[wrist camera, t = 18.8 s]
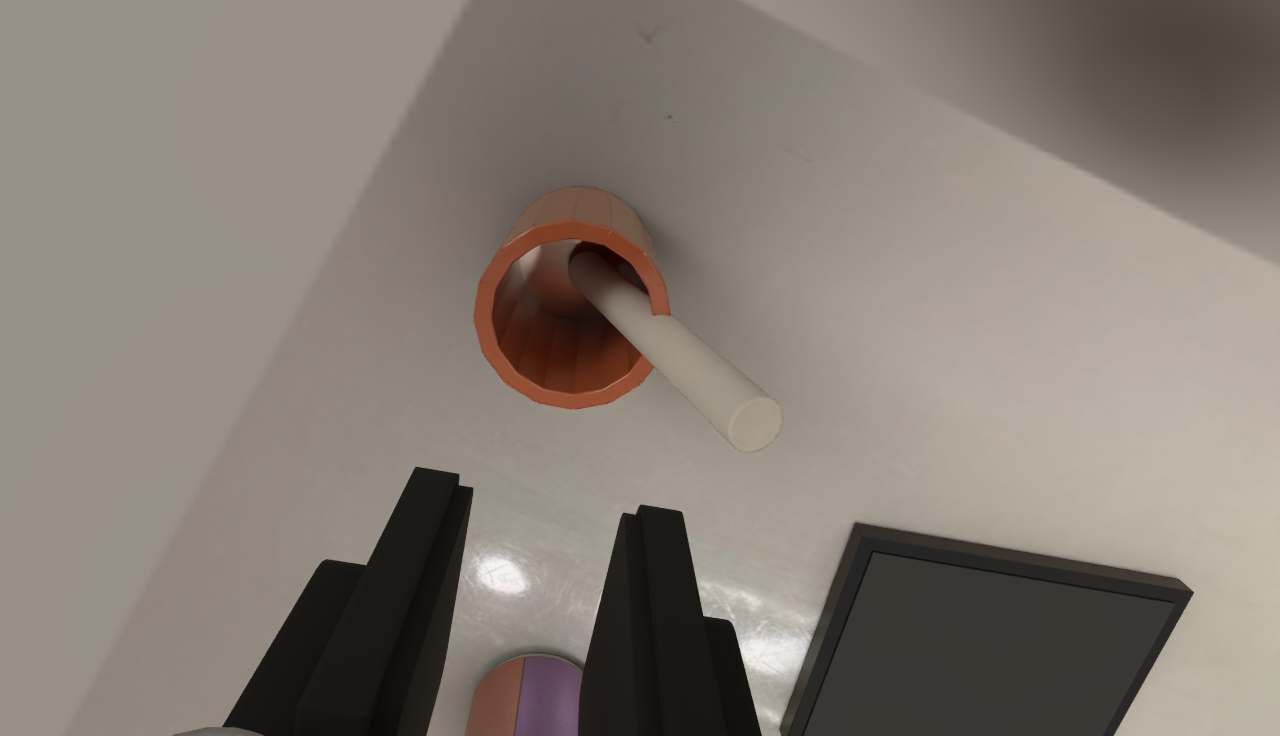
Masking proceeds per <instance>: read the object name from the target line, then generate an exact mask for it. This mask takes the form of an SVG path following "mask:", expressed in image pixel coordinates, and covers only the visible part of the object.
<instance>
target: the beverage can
mask: <svg viewBox="0 0 1280 736" xmlns="http://www.w3.org/2000/svg"><path fill="white" fill-rule="evenodd" d="M582 676H583V671H582V670H581V669H580V668H579V667H577V666H576V665H575V664H573V663H572V662H570V661H568V660H566V659H564V658H561V657H558V656H555V655H550V654H543V653H532V654H524V655H519V656H516V657H513V658H511V659H508V660H506V661H504V662H503V663H501V664H499V665H498V666H497V667H495V668H494V669H493V670H491V671H490V672H489V673H488V674H487V675H486V676H485V677H484V678H483V679H482V680H481V681H480V683H479V684H478V686H477V688H476V690H475V692H474V695H473V698H472V703H471V707H470V712H469V717H468V721H467V726H466V730H465V735H464V736H578V711H579V695H580V687H581V681H582Z"/></svg>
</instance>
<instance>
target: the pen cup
mask: <svg viewBox="0 0 1280 736" xmlns="http://www.w3.org/2000/svg"><path fill="white" fill-rule="evenodd" d="M585 251H592V252H595V253H597V254H599V255H600V256H601V257H602V258H603V259H605V260H606V261H607V262H608V263H610V264H611V265H612V266H613V267H614V268H616V269H617V270H618V271H619V272H620V273H622V274H623V275H624V276H625V277H627V278H628V279H629V280H630V281H631V282H633V283H634V284H635V285H636V286H637V287H639V288H640V289H641V290H642V291H644V292H645V293H646V294H647V295H648V296H649V300H650V305H651V310H652V314H653V316H656V315H668V316H671V313H670V307H669V301H668V295H667V289H666V284H665V281H664V278H663V275H662V272H661V269H660V266H659V263H658V260H657V257H656V253H655V250H654V247H653V244H652V241H651V238H650V236H649V233H648V232H647V230H646V228H645V226H644V225H643V223H642V221H641V219H640V218H639V217H638V215H637V214H636V213H635V211H634V210H633V209H632V208H631V207H630V206H629V205H627V204H626V203H625V202H624V201H623V200H621V199H620V198H618V197H616V196H615V195H613V194H611V193H608V192H606V191H604V190H600V189H597V188H592V187H583V186H574V187H566V188H562V189H558V190H555V191H553V192H550V193H548V194H546V195H544V196H543V197H541V198H539V199H538V200H537V201H535V202H534V203H533V204H532V205H531V206H529V207H528V208H527V209H526V210H525V211H524V212H523V214H522V215H521V217H520V218H519V220H518V221H517V223H516V224H515V226H514V227H513V229H512V230H511V232H510V233H509V235H508V236H507V238H506V239H505V241H504V242H503V244H502V245H501V247H500V248H499V250H498V252H497V253H496V255H495V256H494V258H493V259H492V261H491V262H490V264H489V266H488V267H487V269H486V270H485V272H484V273H483V275H482V276H481V278H480V281H479V283H478V289H477V296H476V302H475V309H474V315H473V316H474V323H475V327H476V331H477V335H478V338H479V342H480V346H481V350H482V353H484V356H485V358H486V359H487V360H488V362H489V363H490V364H491V366H492V367H493V368H494V369H495V371H496V372H497V373H498V375H499V376H500V377H501V379H502V380H503V381H504V382H505V383H506V384H507V385H508V386H510V387H512V388H513V389H515V390H517V391H518V392H520V393H522V394H523V395H525V396H527V397H528V398H530V399H531V400H533V401H535V402H538V403H540V404H545V405H551V406H556V407H562V408H567V409H581V408H586V407H592V406H597V405H603V404H608V403H609V402H613V401H614V400H616V399H618V398H619V397H621V396H623V395H624V394H626V393H628V392H629V391H631V390H632V389H634V388H636V387H637V386H639V385H640V383H642V382H643V381H644V380H645V378H646V377H647V376H648V374H649V373H650V372H651V370H652V369H653V368H654V366H653V365H652V364H651V363H650V362H649V361H648V360H647V359H646V358H645V357H644V356H643V355H642V354H641V353H640V352H639V351H638V350H637V349H636V348H635V347H634V346H633V345H632V343H631V342H630V341H629V340H628V339H627V338H626V337H625V336H624V335H623V334H622V333H621V332H620V331H619V330H618V329H617V328H616V327H615V326H614V325H613V324H612V323H611V322H610V321H609V320H608V319H607V318H606V317H605V316H604V315H603V314H602V313H601V312H600V311H599V310H598V309H597V308H596V307H595V306H594V305H593V304H592V303H591V302H590V301H589V300H588V299H587V298H586V297H585V296H584V295H583V294H582V293H581V292H580V291H579V290H578V289H577V288H576V287H575V286H574V285H573V283H572V282H571V281H570V279H569V276H568V268H569V267H568V262H569V259H570V258H571V256H572V255H573V254H575V253H577V252H585Z"/></svg>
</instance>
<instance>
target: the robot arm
mask: <svg viewBox="0 0 1280 736" xmlns="http://www.w3.org/2000/svg"><path fill="white" fill-rule="evenodd" d="M472 497H473V488H472V487H466V486H460V485H459V474H456V473H451V472H445V471H439V470H433V469H427V468H421V467H415V469H414V470H413V472H412V474H411V477H410V479H409V481H408V483H407V485H406V487H405V489H404V491H403V493H402V495H401V497H400V499H399V501H398V503H397V505H396V507H395V509H394V511H393V513H392V515H391V517H390V519H389V521H388V523H387V525H386V527H385V529H384V531H383V533H382V535H381V537H380V539H379V541H378V543H377V545H376V547H375V549H374V551H373V553H372V555H371V557H370V559H369V561H368V563H367V565H361V564H355V563H348V562H341V561H335V560H328V559H326V560H324V561H322V562H321V564H320V565H319V566H318V568H317V569H316V571H315V572H314V574H313V576H312V577H311V579H310V581H309V582H308V584H307V586H306V587H305V589H304V591H303V592H302V594H301V596H300V597H299V599H298V601H297V602H296V604H295V606H294V607H293V609H292V611H291V612H290V614H289V616H288V617H287V619H286V621H285V622H284V624H283V626H282V627H281V629H280V631H279V633H278V634H277V636H276V638H275V639H274V641H273V643H272V644H271V646H270V648H269V649H268V651H267V653H266V654H265V656H264V658H263V659H262V661H261V663H260V664H259V666H258V668H257V669H256V671H255V673H254V674H253V676H252V678H251V679H250V681H249V683H248V684H247V686H246V688H245V689H244V691H243V693H242V694H241V696H240V698H239V699H238V701H237V703H236V705H235V706H234V708H233V710H232V711H231V713H230V715H229V716H228V718H227V720H226V721H225V723H224V725H223V726H222V727H207V728H202V729H197V730H193V731H188V732H183V733H179V734H175V735H173V736H426V734H427V731H428V727H429V723H430V720H431V716H432V712H433V708H434V705H435V701H436V697H437V694H438V690H439V686H440V682H441V678H442V674H443V669H444V665H445V660H446V654H447V648H448V642H449V636H450V630H451V624H452V618H453V612H454V606H455V600H456V594H457V588H458V582H459V576H460V570H461V564H462V558H463V552H464V546H465V540H466V534H467V528H468V522H469V516H470V510H471V504H472ZM578 736H762V735H761V731H760V727H759V723H758V719H757V715H756V711H755V707H754V703H753V699H752V695H751V691H750V688H749V684H748V680H747V676H746V672H745V668H744V664H743V660H742V656H741V652H740V648H739V644H738V640H737V637H736V633H735V630H734V627H733V625H732V623H731V622H730V621H729V620H725V619H719V618H712V617H705V616H703V612H702V607H701V602H700V597H699V592H698V587H697V582H696V577H695V572H694V567H693V562H692V557H691V552H690V547H689V543H688V538H687V533H686V528H685V523H684V518H683V514H682V512H681V511H677V510H671V509H665V508H659V507H653V506H647V505H640V506H639V508H638V510H637V513H636V515H634V514H628V513H623V514H622V516H621V519H620V523H619V527H618V531H617V535H616V539H615V543H614V547H613V552H612V556H611V560H610V564H609V568H608V572H607V576H606V580H605V584H604V589H603V593H602V597H601V601H600V605H599V609H598V613H597V617H596V622H595V626H594V630H593V634H592V638H591V642H590V646H589V650H588V654H587V659H586V663H585V667H584V671H583V676H582V681H581V687H580V695H579V711H578Z"/></svg>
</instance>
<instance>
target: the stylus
mask: <svg viewBox="0 0 1280 736" xmlns="http://www.w3.org/2000/svg"><path fill="white" fill-rule="evenodd" d="M568 267H569V268H568V276H569V279H570V281H571V282H572V283H573V285H574V286H575V287H576V288H577V289H578V290H579V291H580V292H581V293H582V294H583V295H584V296H585V297H586V298H587V299H588V300H589V301H590V302H591V303H592V304H593V305H594V306H595V307H596V308H597V309H598V310H599V311H600V312H601V313H602V314H603V315H604V316H605V317H606V318H607V319H608V320H609V321H610V322H611V323H612V324H613V325H614V326H615V327H616V328H617V329H618V330H619V331H620V332H621V333H622V334H623V335H624V336H625V337H626V338H627V339H628V340H629V341H630V342H631V343H632V345H633V346H634V347H635V348H636V349H637V350H638V351H639V352H640V353H641V354H642V355H643V356H644V357H645V358H646V359H647V360H648V361H649V362H650V363H651V364H652V365H653V366H654V367H655V368H656V369H657V370H658V371H659V372H660V373H661V374H662V375H663V376H664V377H665V378H666V379H667V380H668V381H669V382H670V383H671V384H672V385H673V386H674V387H675V388H676V389H677V390H678V391H679V392H680V393H681V394H682V395H683V396H684V397H685V398H686V399H687V400H688V401H689V402H690V403H691V405H692V406H693V407H694V408H695V409H696V410H697V411H698V412H699V413H700V414H701V415H702V416H703V417H704V418H705V419H706V420H707V421H708V422H709V423H710V424H711V425H712V426H713V427H714V428H715V429H716V430H717V431H718V432H719V433H720V434H721V435H722V436H723V437H724V438H725V439H726V440H727V441H728V442H729V443H730V444H731V445H732V446H733V447H734V448H735V449H737V450H739V451H742V452H756V451H759V450H761V449H763V448H765V447H766V446H768V445H769V444H770V443H771V442H772V441H773V440H774V439H775V438H776V437H777V435H778V433H779V431H780V429H781V427H782V423H783V413H782V409H781V407H780V405H779V403H778V402H777V401H776V400H775V399H773V398H772V397H771V396H770V395H768V394H767V393H766V392H765V391H764V390H762V389H761V388H760V387H759V386H758V385H756V384H755V383H754V382H753V381H751V380H750V379H749V378H748V377H747V376H745V375H744V374H743V373H742V372H741V371H739V370H738V369H737V368H736V367H734V366H733V365H732V364H731V363H730V362H728V361H727V360H726V359H725V358H724V357H722V356H721V355H720V354H719V353H718V352H716V351H715V350H714V349H713V348H711V347H710V346H709V345H708V344H707V343H705V342H704V341H703V340H702V339H701V338H699V337H698V336H697V335H696V334H694V333H693V332H692V331H691V330H690V329H688V328H687V327H686V326H685V325H684V324H682V323H681V322H680V321H679V320H677V319H676V318H675V317H674V316H673V315H671V316H668V315H656V316H653V314H652V310H651V305H650V300H649V296H648V295H647V294H646V293H645V292H644V291H642V290H641V289H640V288H639V287H637V286H636V285H635V284H634V283H633V282H631V281H630V280H629V279H628V278H627V277H625V276H624V275H623V274H622V273H620V272H619V271H618V270H617V269H616V268H614V267H613V266H612V265H611V264H610V263H608V262H607V261H606V260H605V259H603V258H602V257H601V256H600V255H599V254H597V253H595V252H592V251H585V252H577V253H575V254H573V255H572V256H571V258H570V259H569V262H568Z"/></svg>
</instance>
